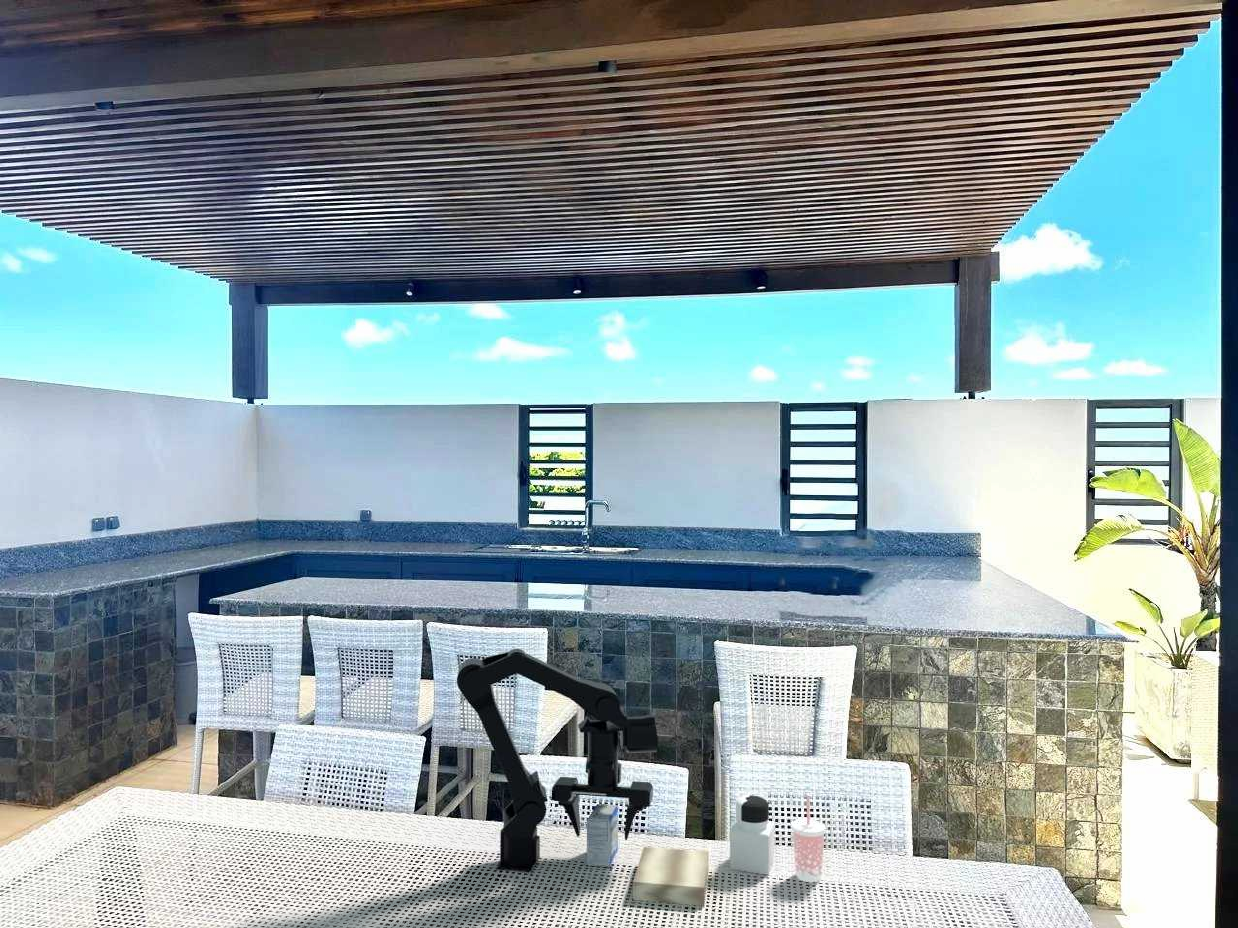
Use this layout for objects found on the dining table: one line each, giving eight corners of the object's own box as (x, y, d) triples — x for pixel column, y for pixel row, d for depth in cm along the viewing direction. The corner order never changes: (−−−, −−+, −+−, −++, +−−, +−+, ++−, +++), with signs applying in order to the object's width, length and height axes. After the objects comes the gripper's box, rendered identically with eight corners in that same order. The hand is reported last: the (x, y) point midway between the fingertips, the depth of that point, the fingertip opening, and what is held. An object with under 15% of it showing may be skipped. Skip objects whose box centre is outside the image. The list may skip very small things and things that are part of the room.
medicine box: (609, 868, 147) (609, 820, 147) (586, 865, 148) (586, 818, 148) (618, 850, 154) (618, 804, 155) (595, 848, 155) (596, 802, 156)
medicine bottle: (774, 859, 151) (774, 794, 151) (768, 875, 144) (768, 808, 145) (737, 853, 153) (736, 790, 154) (729, 869, 146) (729, 803, 147)
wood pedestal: (633, 899, 135) (633, 881, 135) (643, 863, 149) (643, 846, 149) (704, 905, 133) (704, 887, 133) (708, 868, 147) (708, 851, 147)
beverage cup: (827, 885, 140) (826, 804, 141) (791, 882, 142) (791, 801, 142) (825, 870, 146) (824, 792, 147) (791, 866, 148) (790, 789, 148)
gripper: (656, 743, 158) (656, 824, 158) (564, 738, 161) (564, 817, 161) (649, 761, 147) (649, 848, 147) (551, 755, 150) (550, 840, 150)
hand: (602, 837), depth 151 cm, fingers open, 9 cm apart
